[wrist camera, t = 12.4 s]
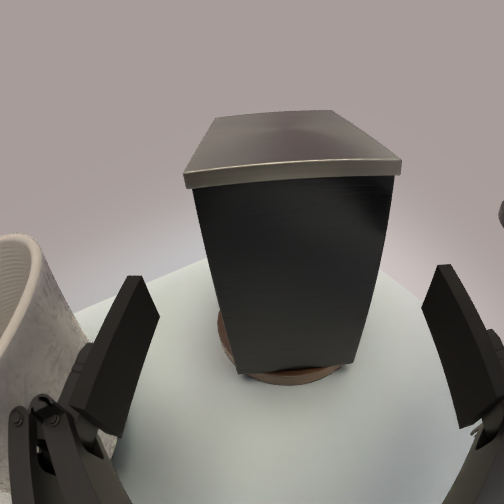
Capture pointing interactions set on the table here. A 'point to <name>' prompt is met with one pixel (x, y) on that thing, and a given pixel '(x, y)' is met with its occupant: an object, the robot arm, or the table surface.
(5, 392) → the planter
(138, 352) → the robot arm
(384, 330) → the table surface
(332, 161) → the bin
